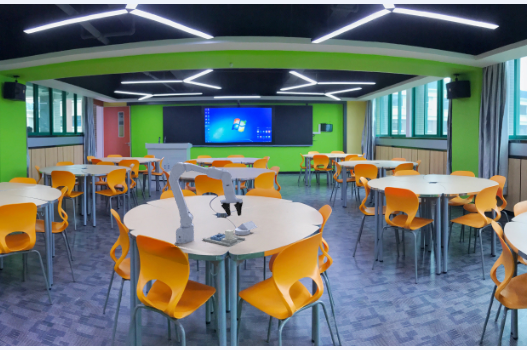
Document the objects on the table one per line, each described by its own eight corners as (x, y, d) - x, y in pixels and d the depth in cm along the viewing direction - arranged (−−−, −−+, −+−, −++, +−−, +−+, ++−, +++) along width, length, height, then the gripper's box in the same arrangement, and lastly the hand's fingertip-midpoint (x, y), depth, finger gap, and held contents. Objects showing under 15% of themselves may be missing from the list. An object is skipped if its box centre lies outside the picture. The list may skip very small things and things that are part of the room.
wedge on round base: (246, 230, 213) (231, 234, 203) (246, 219, 213) (231, 223, 203) (257, 232, 208) (243, 237, 198) (257, 221, 207) (243, 226, 197)
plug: (229, 242, 185) (229, 231, 185) (225, 241, 187) (225, 230, 187) (233, 241, 188) (233, 230, 187) (229, 240, 190) (228, 229, 189)
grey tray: (229, 248, 179) (229, 242, 178) (201, 241, 190) (201, 236, 190) (246, 241, 190) (246, 236, 190) (218, 235, 201) (218, 230, 201)
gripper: (243, 189, 190) (248, 212, 192) (224, 190, 198) (229, 213, 200) (236, 192, 184) (241, 217, 186) (216, 194, 192) (221, 217, 194)
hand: (234, 215), depth 193 cm, fingers open, 7 cm apart
